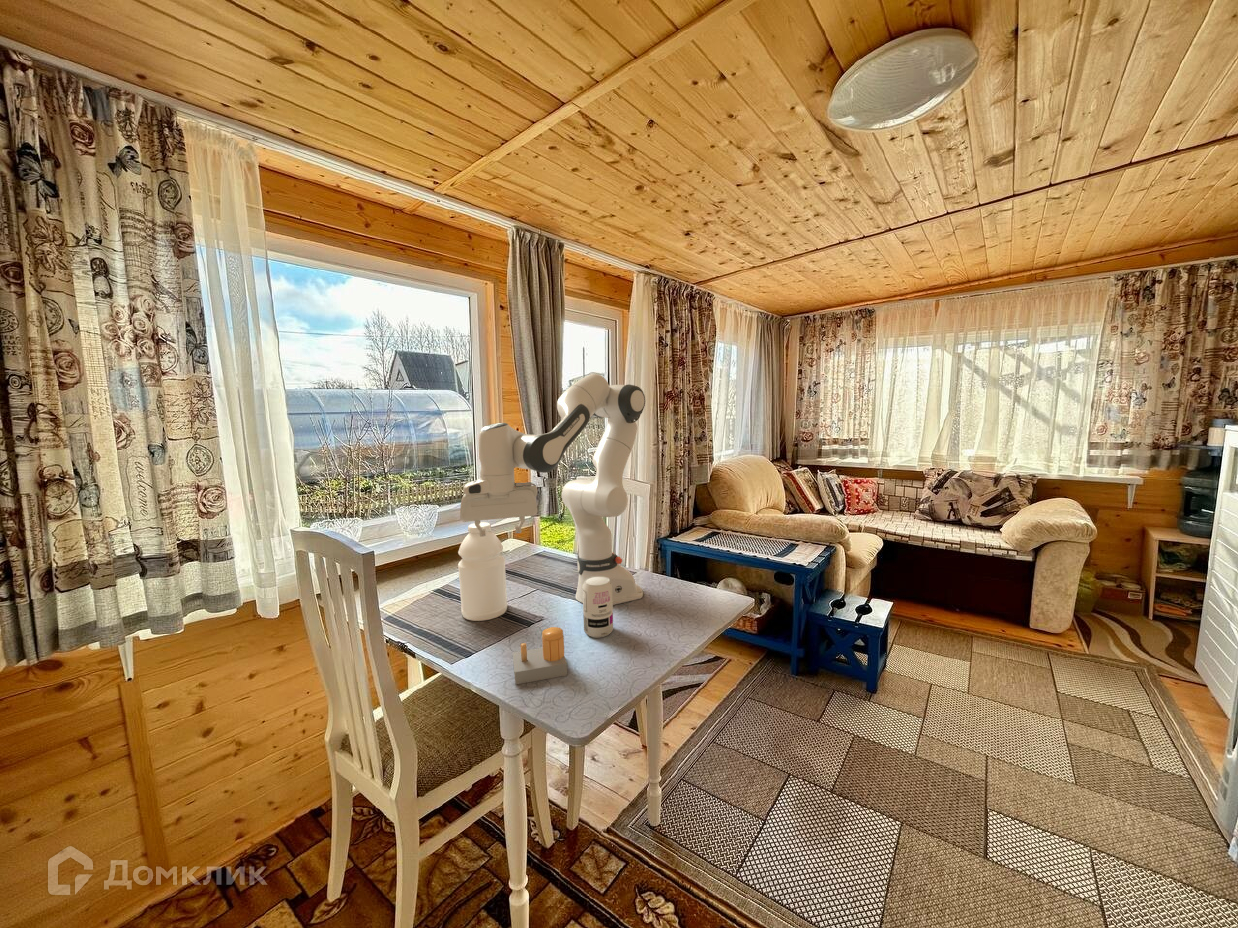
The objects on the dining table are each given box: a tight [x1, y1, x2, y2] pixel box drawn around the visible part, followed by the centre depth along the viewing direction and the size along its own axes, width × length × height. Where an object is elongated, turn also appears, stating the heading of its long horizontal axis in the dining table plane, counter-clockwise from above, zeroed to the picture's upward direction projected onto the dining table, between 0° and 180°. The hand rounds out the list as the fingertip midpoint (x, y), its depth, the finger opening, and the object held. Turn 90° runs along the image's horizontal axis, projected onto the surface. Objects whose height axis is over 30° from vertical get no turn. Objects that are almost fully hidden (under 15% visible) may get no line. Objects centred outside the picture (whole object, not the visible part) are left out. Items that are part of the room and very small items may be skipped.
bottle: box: [457, 521, 509, 622], centre depth 143 cm, size 14×14×28 cm
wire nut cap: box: [541, 626, 565, 661], centre depth 112 cm, size 5×5×6 cm
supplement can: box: [582, 576, 614, 639], centre depth 129 cm, size 8×8×15 cm
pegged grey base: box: [512, 642, 568, 685], centre depth 112 cm, size 12×9×7 cm
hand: (500, 534), depth 126 cm, fingers open, 8 cm apart
